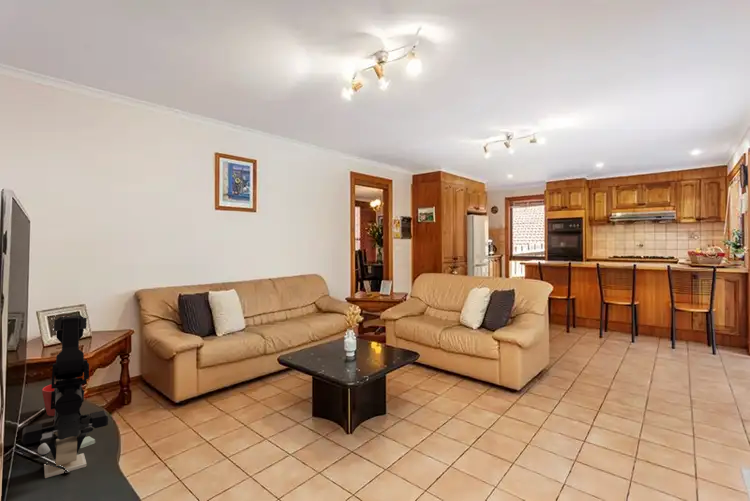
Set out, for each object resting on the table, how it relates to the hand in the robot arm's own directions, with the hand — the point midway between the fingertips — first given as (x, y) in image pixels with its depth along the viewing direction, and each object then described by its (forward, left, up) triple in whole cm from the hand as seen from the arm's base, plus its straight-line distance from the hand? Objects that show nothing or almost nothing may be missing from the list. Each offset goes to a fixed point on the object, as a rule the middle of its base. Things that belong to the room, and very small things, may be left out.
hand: (65, 455), depth 108 cm
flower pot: (-43, +1, -3) cm, 44 cm away
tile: (-11, +6, -4) cm, 13 cm away
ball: (-11, -4, -1) cm, 12 cm away
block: (0, 0, -1) cm, 1 cm away
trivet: (0, 0, -3) cm, 3 cm away
